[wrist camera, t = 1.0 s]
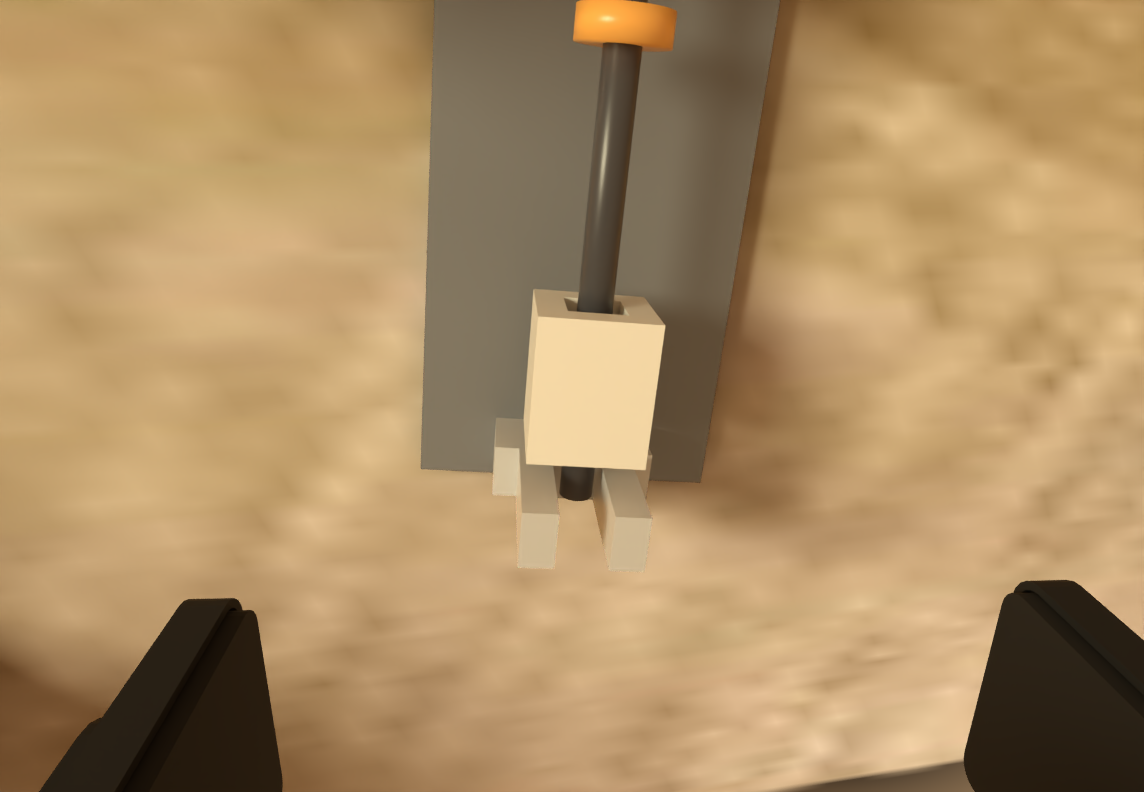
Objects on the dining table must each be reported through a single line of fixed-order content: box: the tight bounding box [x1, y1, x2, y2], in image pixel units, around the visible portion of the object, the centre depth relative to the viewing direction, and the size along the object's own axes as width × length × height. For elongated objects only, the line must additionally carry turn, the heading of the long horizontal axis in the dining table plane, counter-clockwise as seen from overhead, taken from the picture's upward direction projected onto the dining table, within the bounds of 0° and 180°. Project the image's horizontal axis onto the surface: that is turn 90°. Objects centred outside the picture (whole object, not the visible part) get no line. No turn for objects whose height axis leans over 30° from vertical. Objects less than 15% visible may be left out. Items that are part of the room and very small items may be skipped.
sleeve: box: [524, 289, 665, 470], centre depth 27 cm, size 5×4×4 cm
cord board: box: [421, 0, 780, 572], centre depth 25 cm, size 24×12×9 cm, turn 175°
